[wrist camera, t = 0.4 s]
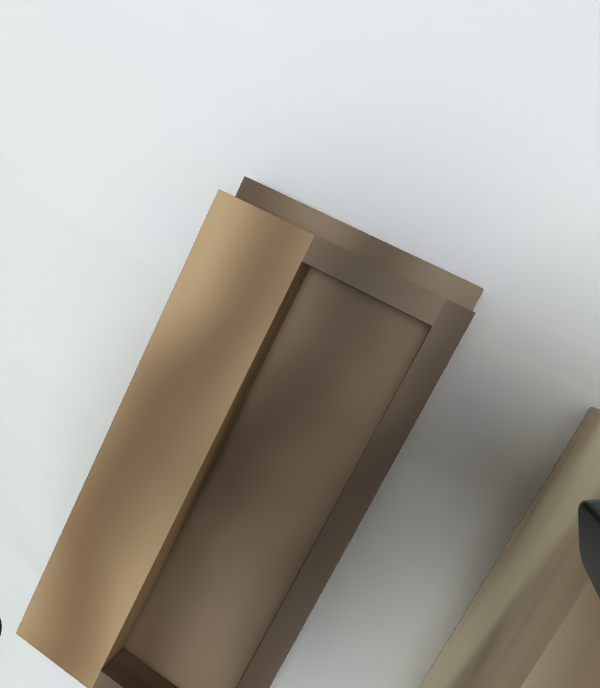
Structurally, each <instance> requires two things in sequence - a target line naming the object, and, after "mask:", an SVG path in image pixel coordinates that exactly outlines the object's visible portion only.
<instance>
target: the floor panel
mask: <svg viewBox="0 0 600 688" xmlns="http://www.w3.org/2000/svg"><path fill="white" fill-rule="evenodd" d="M483 290H484V289H483V288H481V287H479V286H477V285H475V284H472V283H470V282H468V281H466V280H464V279H462V278H460V277H458V276H455V275H453V274H451V273H449V272H447V271H445V270H443V269H441V268H438V267H436V266H434V265H432V264H430V263H428V262H426V261H424V260H421V259H419V258H417V257H415V256H413V255H411V254H409V253H407V252H404V251H402V250H400V249H398V248H396V247H394V246H392V245H390V244H387V243H385V242H383V241H381V240H379V239H377V238H375V237H373V236H370V235H368V234H366V233H364V232H362V231H360V230H358V229H356V228H354V227H351V226H349V225H347V224H345V223H343V222H341V221H339V220H337V219H334V218H332V217H330V216H328V215H326V214H324V213H322V212H320V211H317V210H315V209H313V208H311V207H309V206H307V205H305V204H303V203H300V202H298V201H296V200H294V199H292V198H290V197H288V196H286V195H283V194H281V193H279V192H277V191H275V190H273V189H271V188H269V187H266V186H264V185H262V184H260V183H258V182H256V181H254V180H252V179H249V178H247V177H244V179H243V181H242V183H241V185H240V188H239V190H238V192H237V194H236V196H235V197H234V196H232V195H230V194H228V193H226V192H224V191H222V190H220V189H219V190H218V192H217V194H216V197H215V199H214V201H213V203H212V205H211V207H210V210H209V212H208V214H207V216H206V218H205V221H204V223H203V225H202V227H201V229H200V232H199V234H198V236H197V238H196V240H195V242H194V245H193V247H192V249H191V251H190V253H189V256H188V258H187V260H186V262H185V264H184V266H183V269H182V271H181V273H180V275H179V277H178V280H177V282H176V284H175V286H174V288H173V291H172V293H171V295H170V297H169V299H168V301H167V304H166V306H165V308H164V310H163V312H162V315H161V317H160V319H159V321H158V323H157V326H156V328H155V330H154V332H153V334H152V336H151V339H150V341H149V343H148V345H147V347H146V350H145V352H144V354H143V356H142V358H141V360H140V363H139V365H138V367H137V369H136V371H135V374H134V376H133V378H132V380H131V382H130V385H129V387H128V389H127V391H126V393H125V395H124V398H123V400H122V402H121V404H120V406H119V409H118V411H117V413H116V415H115V417H114V420H113V422H112V424H111V426H110V428H109V430H108V433H107V435H106V437H105V439H104V441H103V444H102V446H101V448H100V450H99V452H98V454H97V457H96V459H95V461H94V463H93V465H92V468H91V470H90V472H89V474H88V476H87V479H86V481H85V483H84V485H83V487H82V489H81V492H80V494H79V496H78V498H77V500H76V503H75V505H74V507H73V509H72V511H71V514H70V516H69V518H68V520H67V522H66V524H65V527H64V529H63V531H62V533H61V535H60V538H59V540H58V542H57V544H56V546H55V548H54V551H53V553H52V555H51V557H50V559H49V562H48V564H47V566H46V568H45V570H44V573H43V575H42V577H41V579H40V581H39V583H38V586H37V588H36V590H35V592H34V594H33V597H32V599H31V601H30V603H29V605H28V608H27V610H26V612H25V614H24V616H23V618H22V621H21V623H20V625H19V627H18V629H17V632H16V634H18V635H19V636H20V637H21V638H23V639H24V640H25V641H27V642H28V643H29V644H31V645H32V646H33V647H35V648H36V649H37V650H38V651H40V652H41V653H42V654H44V655H45V656H46V657H48V658H49V659H50V660H52V661H53V662H54V663H55V664H57V665H58V666H59V667H61V668H62V669H63V670H65V671H66V672H67V673H69V674H70V675H71V676H72V677H74V678H75V679H76V680H78V681H79V682H80V683H82V684H83V685H84V686H86V687H87V688H269V687H270V685H271V683H272V681H273V680H274V678H275V676H276V674H277V672H278V670H279V669H280V667H281V665H282V663H283V661H284V660H285V658H286V656H287V654H288V652H289V650H290V649H291V647H292V645H293V643H294V641H295V640H296V638H297V636H298V634H299V632H300V631H301V629H302V627H303V625H304V623H305V621H306V620H307V618H308V616H309V614H310V612H311V611H312V609H313V607H314V605H315V603H316V601H317V600H318V598H319V596H320V594H321V592H322V591H323V589H324V587H325V585H326V583H327V581H328V580H329V578H330V576H331V574H332V572H333V571H334V569H335V567H336V565H337V563H338V561H339V560H340V558H341V556H342V554H343V552H344V551H345V549H346V547H347V545H348V543H349V542H350V540H351V538H352V536H353V534H354V532H355V531H356V529H357V527H358V525H359V523H360V522H361V520H362V518H363V516H364V514H365V512H366V511H367V509H368V507H369V505H370V503H371V502H372V500H373V498H374V496H375V494H376V492H377V491H378V489H379V487H380V485H381V483H382V482H383V480H384V478H385V476H386V474H387V472H388V471H389V469H390V467H391V465H392V463H393V462H394V460H395V458H396V456H397V454H398V453H399V451H400V449H401V447H402V445H403V443H404V442H405V440H406V438H407V436H408V434H409V433H410V431H411V429H412V427H413V425H414V423H415V422H416V420H417V418H418V416H419V414H420V413H421V411H422V409H423V407H424V405H425V403H426V402H427V400H428V398H429V396H430V394H431V393H432V391H433V389H434V387H435V385H436V383H437V382H438V380H439V378H440V376H441V374H442V373H443V371H444V369H445V367H446V365H447V364H448V362H449V360H450V358H451V356H452V354H453V353H454V351H455V349H456V347H457V345H458V344H459V342H460V340H461V338H462V336H463V334H464V333H465V331H466V329H467V327H468V325H469V324H470V322H471V320H472V318H473V316H474V314H475V312H473V311H472V310H473V308H474V306H475V305H476V303H477V301H478V299H479V297H480V295H481V294H482V292H483Z"/></svg>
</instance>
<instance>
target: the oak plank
mask: <svg viewBox="0 0 600 688" xmlns="http://www.w3.org/2000/svg"><path fill="white" fill-rule="evenodd" d="M597 498H600V410H598V409H595V408H593V407H591V408H590V409H589V411H588V413H587V414H586V416H585V418H584V419H583V421H582V422H581V424H580V426H579V427H578V429H577V431H576V432H575V434H574V436H573V437H572V439H571V440H570V442H569V444H568V445H567V447H566V449H565V450H564V452H563V454H562V455H561V457H560V458H559V460H558V462H557V463H556V465H555V467H554V468H553V470H552V471H551V473H550V475H549V476H548V478H547V480H546V481H545V483H544V485H543V486H542V488H541V489H540V491H539V493H538V494H537V496H536V498H535V499H534V501H533V503H532V504H531V506H530V507H529V509H528V511H527V512H526V514H525V516H524V517H523V519H522V521H521V522H520V524H519V525H518V527H517V529H516V530H515V532H514V534H513V535H512V537H511V539H510V540H509V542H508V543H507V545H506V547H505V548H504V550H503V552H502V553H501V555H500V556H499V558H498V560H497V561H496V563H495V565H494V566H493V568H492V570H491V571H490V573H489V574H488V576H487V578H486V579H485V581H484V583H483V584H482V586H481V588H480V589H479V591H478V592H477V594H476V596H475V597H474V599H473V601H472V602H471V604H470V606H469V607H468V609H467V610H466V612H465V614H464V615H463V617H462V619H461V620H460V622H459V623H458V625H457V627H456V628H455V630H454V632H453V633H452V635H451V637H450V638H449V640H448V641H447V643H446V645H445V646H444V648H443V650H442V651H441V653H440V655H439V656H438V658H437V659H436V661H435V663H434V664H433V666H432V668H431V669H430V671H429V673H428V674H427V676H426V677H425V679H424V681H423V682H422V684H421V686H420V687H419V688H600V599H599V597H598V595H597V593H596V591H595V589H594V587H593V585H592V583H591V580H590V578H589V576H588V574H587V572H586V570H585V568H584V566H583V563H582V560H581V556H580V551H579V531H578V507H579V504H580V503H581V502H582V501H584V500H590V499H597Z"/></svg>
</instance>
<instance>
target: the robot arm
mask: <svg viewBox="0 0 600 688" xmlns="http://www.w3.org/2000/svg"><path fill="white" fill-rule="evenodd" d="M578 531H579V551H580V556H581V560H582V563H583V566H584V568H585V570H586V572H587V574H588V576H589V578H590V580H591V583H592V585H593V587H594V589H595V591H596V593H597V595H598V597H599V599H600V498H597V499H590V500H584V501H582V502H581V503H580V504H579V507H578ZM1 630H2V624H1V619H0V635H1Z"/></svg>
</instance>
